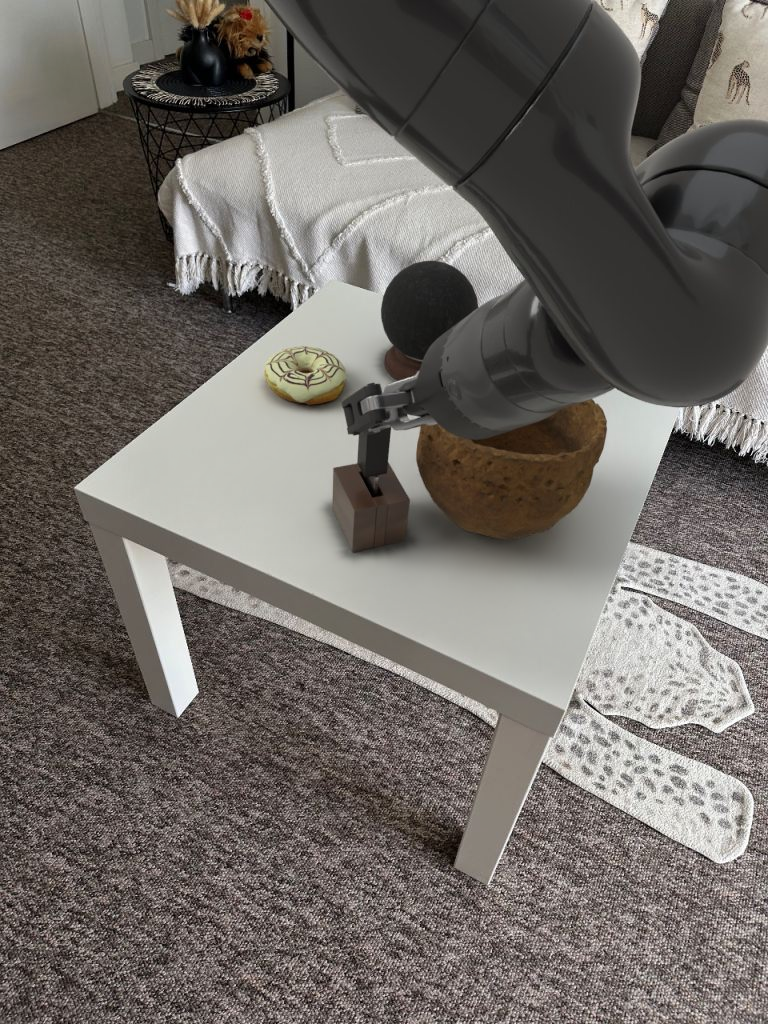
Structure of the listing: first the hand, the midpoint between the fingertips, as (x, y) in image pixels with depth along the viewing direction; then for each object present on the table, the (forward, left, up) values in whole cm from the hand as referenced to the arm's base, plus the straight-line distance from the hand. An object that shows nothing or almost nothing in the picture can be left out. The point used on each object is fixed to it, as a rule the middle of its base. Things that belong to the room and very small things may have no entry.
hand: (412, 414), depth 58 cm
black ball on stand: (-9, +40, -20) cm, 45 cm away
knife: (-5, +6, -20) cm, 22 cm away
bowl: (+7, +14, -20) cm, 25 cm away
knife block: (-5, +6, -20) cm, 22 cm away
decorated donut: (-22, +28, -20) cm, 41 cm away
